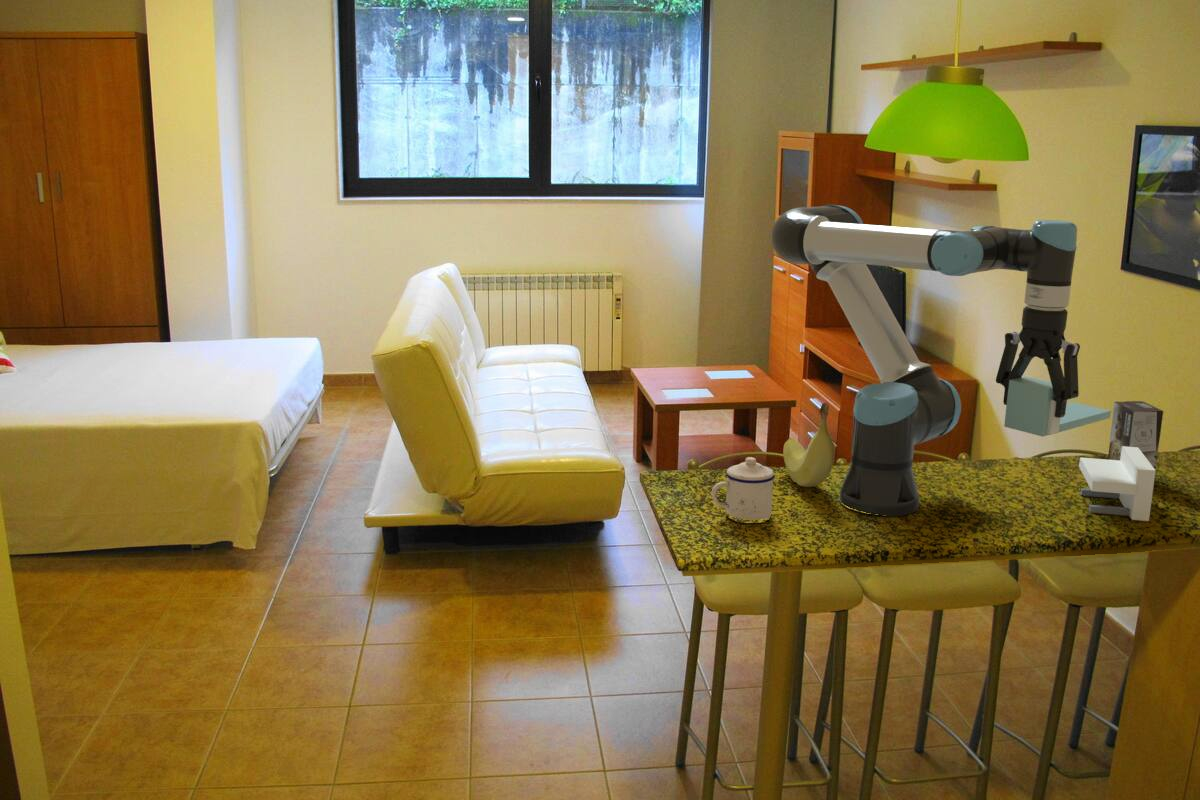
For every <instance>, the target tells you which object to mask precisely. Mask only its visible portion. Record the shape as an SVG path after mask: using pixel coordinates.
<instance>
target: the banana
mask: <svg viewBox="0 0 1200 800" xmlns="http://www.w3.org/2000/svg"><path fill="white" fill-rule="evenodd" d="M829 408H830V407H829V404H828V403H827V402H823V403H822V404H821V407H820V408H819V411H818V412H819V414H820V424H819V428H818V431H816V432H815V434H814V435H813V436H812V438H811V440H810V442H809V444H808V446H807V448H806V450H805V449H804V447H803V446H802V445H801V444H800V443H799V442H798V441H797V440H796V439H795V438H792V437H789V438H788V439H786V440H785V442H784V445H783V449H782V453H783V455H782V456H783V460H784V464H785V468H786V471H787V473H788V475H789V477H790V478H791V481H793V482H794V483H795V482H796V483H797V484H796V483H795V484H796V485H798V486H800V487H807V488H809V487H816V486H820V485H821V484H823V483H824V482H825V480H826V479H827V478H828V476H829V475H830V473H831V471H832V467H833V464H834V459H835V458H834V457H835V444H834V441H833V439H832V437H831V435H830V432H829V430H828V428H827V418H828V416H829Z"/></svg>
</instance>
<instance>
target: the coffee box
mask: <svg viewBox="0 0 1200 800" xmlns="http://www.w3.org/2000/svg"><path fill="white" fill-rule="evenodd" d="M1163 417H1164V411H1163V410H1162V409H1159V408H1158V407H1156V406H1153V405H1151V404H1150V403H1147V402H1145V401H1140V400H1137V401H1136V400H1131V401H1130V400H1129V401H1127V400H1126V401H1114V402H1113V411H1112V420H1111V429H1110V437H1109V447H1108V456H1107V460H1120V457H1121V449H1122V446H1126V447H1138V448H1139V449H1140V451H1141V452H1142V453H1143V455H1144V456H1145V457H1146V458H1147V460H1148V461H1149V462H1150V464H1151V465H1152V466H1153V468H1154V469H1155V470H1156V469H1157V463H1158V462H1157V461H1158V455H1159V447H1160V446H1159V445H1160V437H1161V432H1162V424H1163ZM1156 471H1157V470H1156Z"/></svg>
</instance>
